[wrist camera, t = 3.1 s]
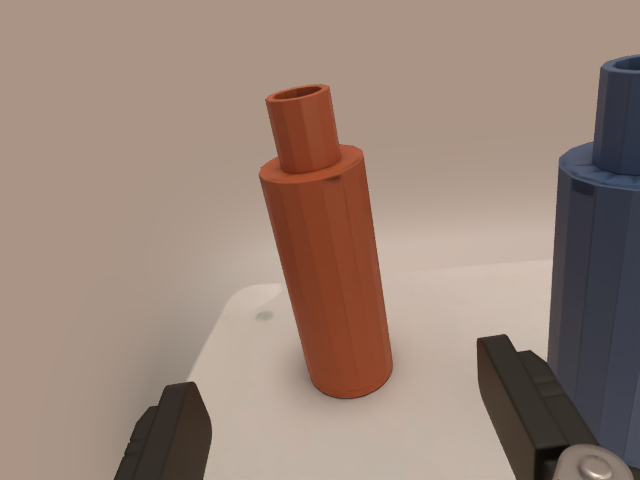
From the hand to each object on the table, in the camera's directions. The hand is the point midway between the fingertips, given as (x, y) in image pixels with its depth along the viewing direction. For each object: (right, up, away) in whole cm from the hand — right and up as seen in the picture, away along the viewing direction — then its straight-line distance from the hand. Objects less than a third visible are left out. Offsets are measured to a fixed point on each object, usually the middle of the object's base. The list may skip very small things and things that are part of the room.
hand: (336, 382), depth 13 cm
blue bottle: (+12, -4, +7) cm, 14 cm away
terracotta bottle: (+1, -3, +13) cm, 13 cm away
